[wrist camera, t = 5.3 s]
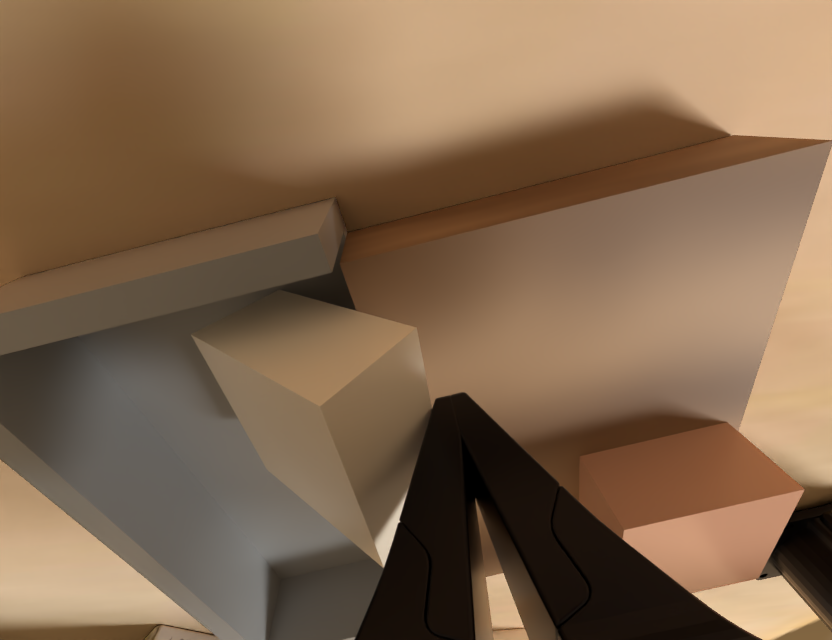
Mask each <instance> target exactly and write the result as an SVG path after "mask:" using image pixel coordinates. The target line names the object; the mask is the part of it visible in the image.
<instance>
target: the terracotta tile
mask: <svg viewBox="0 0 832 640" xmlns="http://www.w3.org/2000/svg"><path fill="white" fill-rule="evenodd" d="M804 490H805V489H804V488H803V487H801V486H800V485H799V484H798V483H797V482H796V481H795V480H793V479H792V478H791V477H790V476H789V475H788V474H787V473H785V472H784V471H783V470H782V469H781V468H780V467H778V466H777V465H776V464H775V463H774V462H773V461H772V460H770V459H769V458H768V457H767V456H766V455H765V454H764V453H762V452H761V451H760V450H759V449H758V448H757V447H755V446H754V445H753V444H752V443H751V442H750V441H749V440H747V439H746V438H745V437H744V436H743V435H742V434H741V433H739V432H738V431H737V430H736V429H735V428H734V427H732V426H731V425H730V424H729V423H728V422H726V423H721V424H717V425H713V426H708V427H704V428H700V429H695V430H691V431H687V432H682V433H678V434H674V435H670V436H665V437H661V438H657V439H652V440H648V441H644V442H639V443H635V444H631V445H626V446H622V447H618V448H613V449H609V450H605V451H600V452H596V453H592V454H588V455H583V456H580V464H579V502H580V503H581V504H582V505H583V506H584V507H585V508H587V509H588V510H589V511H590V512H591V513H592V514H593V515H594V516H595V517H596V518H598V519H599V520H600V521H601V522H602V523H604V524H605V525H606V526H607V527H608V528H610V529H611V530H612V531H613V532H614V533H616V534H617V535H618V536H619V537H621V538H622V539H623V540H624V541H625V542H627V543H628V544H629V545H630V546H632V547H633V548H634V549H636V550H637V551H638V552H639V553H641V554H642V555H643V556H644V557H646V558H647V559H648V560H650V561H651V562H652V563H653V564H655V565H656V566H657V567H658V568H660V569H661V570H662V571H664V572H665V573H666V574H667V575H669V576H670V577H671V578H672V579H674V580H675V581H676V582H678V583H679V584H680V585H681V586H683V587H684V588H685V589H686V590H688V591H689V592H690V593H694V592H698V591H703V590H707V589H712V588H717V587H721V586H726V585H730V584H735V583H739V582H744V581H748V580H753V579H757V578H759V576H760V574H761V572H762V571H763V569H764V567H765V565H766V563H767V561H768V559H769V557H770V555H771V553H772V551H773V549H774V548H775V546H776V544H777V542H778V540H779V538H780V536H781V534H782V532H783V530H784V528H785V526H786V525H787V523H788V521H789V519H790V517H791V515H792V513H793V511H794V509H795V507H796V505H797V503H798V502H799V500H800V498H801V496H802V494H803V492H804Z"/></svg>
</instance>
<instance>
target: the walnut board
mask: <svg viewBox="0 0 832 640" xmlns="http://www.w3.org/2000/svg"><path fill="white" fill-rule="evenodd" d="M831 146H832V140H815V139H796V138H777V137H757V136H738V135H733V136H729V137H725V138H721V139H717V140H713V141H709V142H705V143H701V144H697V145H693V146H689V147H685V148H681V149H677V150H673V151H669V152H665V153H661V154H657V155H653V156H649V157H645V158H642V159H638V160H634V161H630V162H626V163H622V164H618V165H614V166H610V167H606V168H602V169H598V170H594V171H590V172H586V173H582V174H578V175H574V176H570V177H566V178H562V179H558V180H554V181H550V182H546V183H542V184H538V185H534V186H531V187H527V188H523V189H519V190H515V191H511V192H507V193H503V194H499V195H495V196H491V197H487V198H483V199H479V200H475V201H471V202H467V203H463V204H459V205H455V206H451V207H447V208H443V209H439V210H435V211H431V212H427V213H423V214H420V215H416V216H412V217H408V218H404V219H400V220H396V221H392V222H388V223H384V224H380V225H376V226H372V227H368V228H364V229H360V230H356V231H352V232H348V233H347V236H346V240H345V244H344V248H343V252H342V257H341V261H340V266H341V269H342V272H343V275H344V278H345V280H346V283H347V286H348V289H349V292H350V295H351V297H352V300H353V303H354V306H355V309H356V311H358V312H362V313H366V314H369V315H373V316H377V317H380V318H384V319H387V320H391V321H395V322H398V323H402V324H405V325H409V326H413V327H416V328H417V332H418V337H419V342H420V348H421V353H422V358H423V364H424V369H425V374H426V380H427V385H428V390H429V396H430V401H431V406H432V408H433V404H434V401H435V399H436V398H439V397H443V396H447V395H452V394H456V393H460V392H465V393H467V394H468V395H469V396H470V397H471V398H472V399H473V400H474V401H475V402H476V403H477V404H478V405H479V406H480V407H481V408H482V409H483V410H484V411H485V412H486V413H487V414H488V415H490V416H491V417H492V418H493V419H494V420H495V421H496V422H497V423H498V424H499V425H500V426H501V427H502V428H503V429H504V430H505V431H506V432H507V433H508V434H509V435H510V436H511V437H512V438H513V439H514V440H515V441H516V442H517V443H519V444H520V445H521V446H522V447H523V448H524V449H525V450H526V451H527V452H528V453H529V454H530V455H531V456H532V457H533V458H534V459H535V460H536V461H537V462H538V463H539V464H540V465H541V466H542V467H543V468H544V469H545V470H546V471H548V472H549V473H550V474H551V475H552V476H553V477H554V478H555V479H556V480H557V481H558V482H559V483H560V486H563V487H564V488H565V489H566V490H567V491H568V492H569V493H571V494H572V495H573V496H574V497H575V498H576V499H577V500H578V501H579V464H580V456H583V455H588V454H592V453H596V452H600V451H605V450H609V449H613V448H618V447H622V446H626V445H631V444H635V443H639V442H644V441H648V440H652V439H657V438H661V437H665V436H670V435H674V434H678V433H682V432H687V431H691V430H695V429H700V428H704V427H708V426H713V425H717V424H721V423H726V422H728V423H729V424H730V425H731V426H732V427H734V428H735V429H736V430H737V431H738V430H739V427H740V424H741V421H742V418H743V415H744V412H745V409H746V406H747V403H748V400H749V397H750V394H751V391H752V388H753V385H754V381H755V378H756V375H757V372H758V369H759V366H760V363H761V360H762V357H763V354H764V351H765V348H766V345H767V342H768V339H769V336H770V333H771V330H772V327H773V323H774V320H775V317H776V314H777V311H778V308H779V305H780V302H781V299H782V296H783V293H784V290H785V287H786V284H787V281H788V278H789V275H790V272H791V269H792V265H793V262H794V259H795V256H796V253H797V250H798V247H799V244H800V241H801V238H802V235H803V232H804V229H805V226H806V223H807V220H808V217H809V214H810V211H811V207H812V204H813V201H814V198H815V195H816V192H817V189H818V186H819V183H820V180H821V177H822V174H823V171H824V168H825V165H826V162H827V159H828V156H829V153H830V149H831ZM475 500H476V499H475ZM476 508H477V515H478V523H479V531H480V538H481V546H482V554H483V561H484V569H485V576H486V577H487V576H491V575H496V574H500V573H504V572H503V570H502V567H501V565H500V562H499V559H498V557H497V554H496V551H495V549H494V546H493V543H492V541H491V538H490V536H489V533H488V530H487V528H486V525H485V522H484V520H483V517H482V515H481V512H480V509H479V507H478V504H477V501H476Z"/></svg>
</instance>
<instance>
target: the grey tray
mask: <svg viewBox="0 0 832 640" xmlns="http://www.w3.org/2000/svg"><path fill="white" fill-rule="evenodd" d="M346 236H347V230H346V227H345V224H344V221H343V218H342V215H341V212H340V209H339V206H338V202H337V199H336V197H334V198H330V199H326V200H322V201H318V202H314V203H310V204H307V205H303V206H299V207H295V208H291V209H287V210H283V211H279V212H275V213H271V214H267V215H263V216H260V217H256V218H252V219H248V220H244V221H240V222H236V223H232V224H228V225H224V226H220V227H216V228H213V229H209V230H205V231H201V232H197V233H193V234H189V235H185V236H181V237H177V238H173V239H169V240H165V241H162V242H158V243H154V244H150V245H146V246H142V247H138V248H134V249H130V250H126V251H122V252H118V253H115V254H111V255H107V256H103V257H99V258H95V259H91V260H87V261H83V262H79V263H75V264H71V265H67V266H64V267H60V268H56V269H52V270H48V271H44V272H40V273H36V274H32V275H28V276H24V277H21V278H18V279H16V280H14V281H12V282H9V283H7V284H5V285H3V286H1V287H0V459H1V460H2V461H3V462H5V463H6V464H7V465H8V466H9V467H11V468H12V469H13V470H14V471H16V472H17V473H18V474H19V475H20V476H22V477H23V478H24V479H25V480H26V481H28V482H29V483H30V484H31V485H33V486H34V487H35V488H36V489H37V490H39V491H40V492H41V493H42V494H44V495H45V496H46V497H47V498H48V499H50V500H51V501H52V502H53V503H55V504H56V505H57V506H58V507H59V508H61V509H62V510H63V511H64V512H66V513H67V514H68V515H69V516H70V517H72V518H73V519H74V520H75V521H76V522H78V523H79V524H80V525H81V526H83V527H84V528H85V529H86V530H87V531H89V532H90V533H91V534H92V535H94V536H95V537H96V538H97V539H98V540H100V541H101V542H102V543H103V544H105V545H106V546H107V547H108V548H109V549H111V550H112V551H113V552H114V553H116V554H117V555H118V556H119V557H120V558H122V559H123V560H124V561H125V562H127V563H128V564H129V565H130V566H131V567H133V568H134V569H135V570H136V571H137V572H139V573H140V574H141V575H142V576H144V577H145V578H146V579H147V580H148V581H150V582H151V583H152V584H153V585H155V586H156V587H157V588H158V589H159V590H161V591H162V592H163V593H164V594H166V595H167V596H168V597H169V598H170V599H172V600H173V601H174V602H175V603H177V604H178V605H179V606H180V607H181V608H183V609H184V610H185V611H186V612H187V613H189V614H190V615H191V616H192V617H194V618H195V619H196V620H197V621H198V622H200V623H201V624H202V625H203V626H205V627H206V628H207V629H208V630H209V631H211V632H212V633H213V634H214V635H216V636H217V637H218V638H219V639H220V640H354V639H355V637H356V635H357V632H358V630H359V627H360V625H361V623H362V620H363V618H364V616H365V613H366V611H367V608H368V606H369V604H370V601H371V599H372V597H373V594H374V591H375V589H376V586H377V584H378V581H379V579H380V576H381V574H382V571H383V569H384V568H383V567H382V566H380V565H379V564H378V563H377V562H376V561H374V560H373V559H372V558H371V557H370V556H369V555H367V554H366V553H365V552H364V551H363V550H361V549H360V548H359V547H358V546H357V545H356V544H354V543H353V542H352V541H351V540H350V539H348V538H347V537H346V536H345V535H344V534H343V533H341V532H340V531H339V530H338V529H337V528H335V527H334V526H333V525H332V524H331V523H330V522H328V521H327V520H326V519H325V518H324V517H322V516H321V515H320V514H319V513H318V512H317V511H315V510H314V509H313V508H312V507H311V506H309V505H308V504H307V503H306V502H305V501H304V500H302V499H301V498H300V497H299V496H298V495H296V494H295V493H294V492H293V491H292V490H291V489H289V488H288V487H287V486H286V485H285V484H283V483H282V482H281V481H280V480H279V479H278V478H276V477H275V476H274V475H273V474H272V473H270V472H269V471H268V470H267V469H266V467H265V465H264V463H263V462H262V460H261V458H260V456H259V455H258V453H257V451H256V449H255V448H254V446H253V444H252V442H251V440H250V439H249V437H248V435H247V433H246V432H245V430H244V428H243V426H242V424H241V423H240V421H239V419H238V417H237V416H236V414H235V412H234V410H233V409H232V407H231V405H230V403H229V401H228V400H227V398H226V396H225V394H224V393H223V391H222V389H221V387H220V385H219V384H218V382H217V380H216V378H215V377H214V375H213V373H212V371H211V370H210V368H209V366H208V364H207V362H206V361H205V359H204V357H203V355H202V354H201V352H200V350H199V348H198V346H197V345H196V343H195V341H194V339H193V338H192V336H191V334H192V333H194V332H196V331H198V330H200V329H202V328H204V327H206V326H208V325H210V324H212V323H214V322H216V321H218V320H220V319H222V318H224V317H226V316H228V315H230V314H232V313H234V312H236V311H238V310H240V309H242V308H244V307H246V306H248V305H250V304H252V303H254V302H256V301H258V300H260V299H262V298H264V297H266V296H268V295H270V294H271V293H273V292H275V291H277V290H283V291H286V292H290V293H293V294H297V295H301V296H304V297H308V298H311V299H315V300H319V301H322V302H326V303H330V304H333V305H337V306H340V307H344V308H348V309H351V310H355V311H356V309H355V306H354V303H353V300H352V297H351V295H350V292H349V289H348V286H347V283H346V280H345V278H344V275H343V272H342V269H341V266H340V261H341V257H342V252H343V248H344V244H345V240H346Z"/></svg>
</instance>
